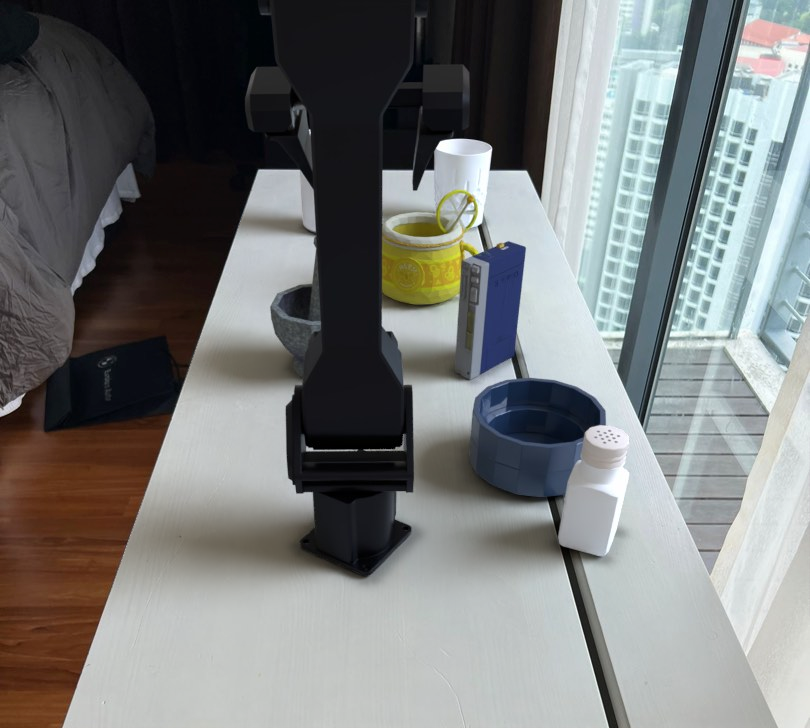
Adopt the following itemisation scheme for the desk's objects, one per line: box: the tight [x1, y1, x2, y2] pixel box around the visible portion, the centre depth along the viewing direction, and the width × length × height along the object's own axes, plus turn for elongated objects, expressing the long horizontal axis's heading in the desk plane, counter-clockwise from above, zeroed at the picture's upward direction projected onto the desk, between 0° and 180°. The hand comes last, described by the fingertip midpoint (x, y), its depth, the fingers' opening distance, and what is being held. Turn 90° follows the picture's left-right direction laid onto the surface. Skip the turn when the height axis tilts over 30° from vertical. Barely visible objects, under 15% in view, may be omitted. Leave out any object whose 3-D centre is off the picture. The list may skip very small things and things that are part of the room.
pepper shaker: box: [557, 425, 630, 557], centre depth 63 cm, size 4×4×10 cm
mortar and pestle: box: [269, 236, 321, 378], centre depth 83 cm, size 11×9×12 cm
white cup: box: [433, 138, 493, 229], centre depth 117 cm, size 8×8×10 cm
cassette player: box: [454, 240, 527, 381], centre depth 84 cm, size 7×2×12 cm, turn 137°
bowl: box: [468, 377, 607, 498], centre depth 72 cm, size 11×11×6 cm
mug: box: [382, 189, 480, 305], centre depth 97 cm, size 13×11×12 cm
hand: (365, 188), depth 78 cm, fingers open, 9 cm apart
